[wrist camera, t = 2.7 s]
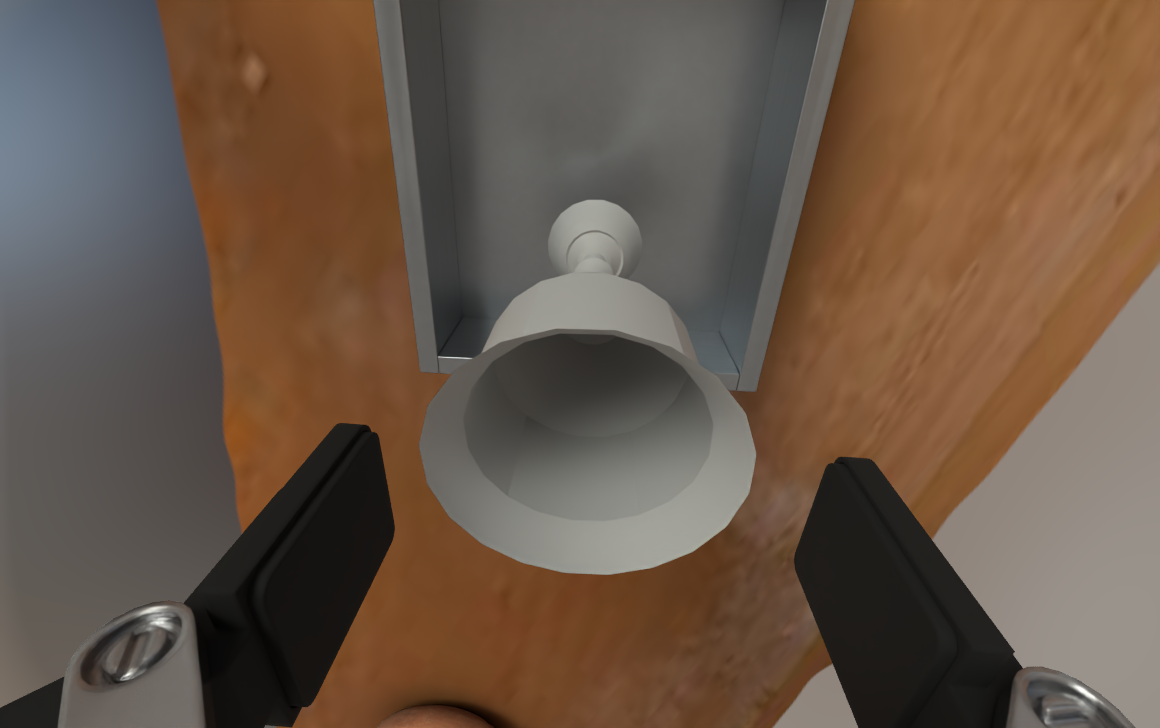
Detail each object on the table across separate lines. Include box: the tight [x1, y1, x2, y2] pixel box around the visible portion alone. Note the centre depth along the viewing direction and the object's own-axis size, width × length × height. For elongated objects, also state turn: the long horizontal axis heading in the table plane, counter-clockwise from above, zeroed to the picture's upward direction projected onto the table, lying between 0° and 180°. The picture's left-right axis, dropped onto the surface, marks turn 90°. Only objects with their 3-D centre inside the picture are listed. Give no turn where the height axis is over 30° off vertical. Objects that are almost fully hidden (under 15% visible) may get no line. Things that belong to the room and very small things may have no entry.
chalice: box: [419, 200, 757, 575], centre depth 19 cm, size 7×7×18 cm
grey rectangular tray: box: [373, 0, 855, 392], centre depth 22 cm, size 17×20×5 cm
